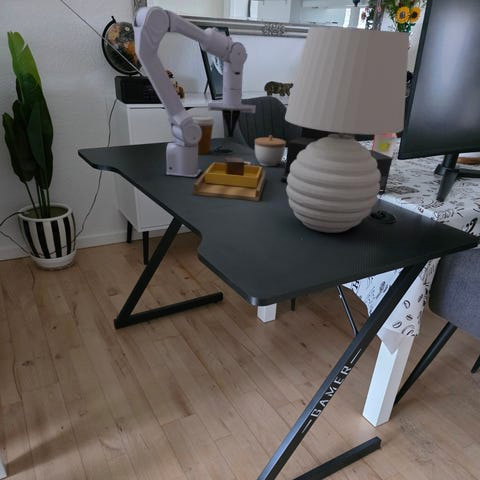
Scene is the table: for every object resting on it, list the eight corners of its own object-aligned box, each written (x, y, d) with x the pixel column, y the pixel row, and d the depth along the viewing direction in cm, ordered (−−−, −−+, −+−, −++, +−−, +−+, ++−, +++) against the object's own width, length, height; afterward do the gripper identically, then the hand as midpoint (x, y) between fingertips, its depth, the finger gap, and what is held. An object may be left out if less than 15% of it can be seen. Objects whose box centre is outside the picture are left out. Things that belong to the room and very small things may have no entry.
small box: (347, 184, 140) (353, 149, 135) (364, 183, 143) (371, 149, 137) (368, 195, 132) (375, 158, 127) (385, 193, 135) (394, 157, 129)
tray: (204, 182, 129) (204, 172, 128) (216, 167, 144) (216, 158, 143) (256, 187, 128) (257, 177, 126) (263, 171, 143) (263, 162, 141)
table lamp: (322, 201, 124) (350, 30, 103) (400, 231, 108) (451, 36, 87) (253, 217, 111) (267, 24, 89) (329, 254, 94) (370, 28, 73)
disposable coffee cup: (191, 148, 170) (190, 114, 164) (215, 150, 170) (216, 116, 163) (185, 154, 163) (184, 118, 156) (210, 156, 162) (211, 120, 155)
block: (226, 179, 131) (227, 161, 128) (225, 174, 135) (225, 157, 133) (243, 179, 132) (244, 162, 129) (241, 175, 136) (242, 158, 133)
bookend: (312, 188, 135) (324, 102, 122) (280, 181, 139) (289, 97, 127) (339, 173, 152) (352, 96, 139) (309, 167, 157) (320, 92, 144)
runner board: (193, 194, 123) (193, 184, 122) (209, 174, 141) (209, 165, 140) (258, 201, 122) (259, 190, 120) (265, 179, 140) (266, 170, 138)
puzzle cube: (371, 156, 177) (376, 134, 173) (371, 152, 184) (375, 131, 180) (392, 158, 176) (397, 137, 172) (391, 154, 183) (395, 133, 178)
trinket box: (281, 169, 152) (284, 140, 147) (250, 166, 153) (252, 136, 148) (285, 162, 161) (288, 134, 156) (256, 159, 162) (258, 131, 157)
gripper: (207, 88, 131) (206, 137, 138) (256, 91, 131) (253, 140, 138) (209, 86, 137) (208, 133, 144) (256, 88, 137) (253, 135, 144)
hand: (230, 136), depth 142 cm, fingers closed
